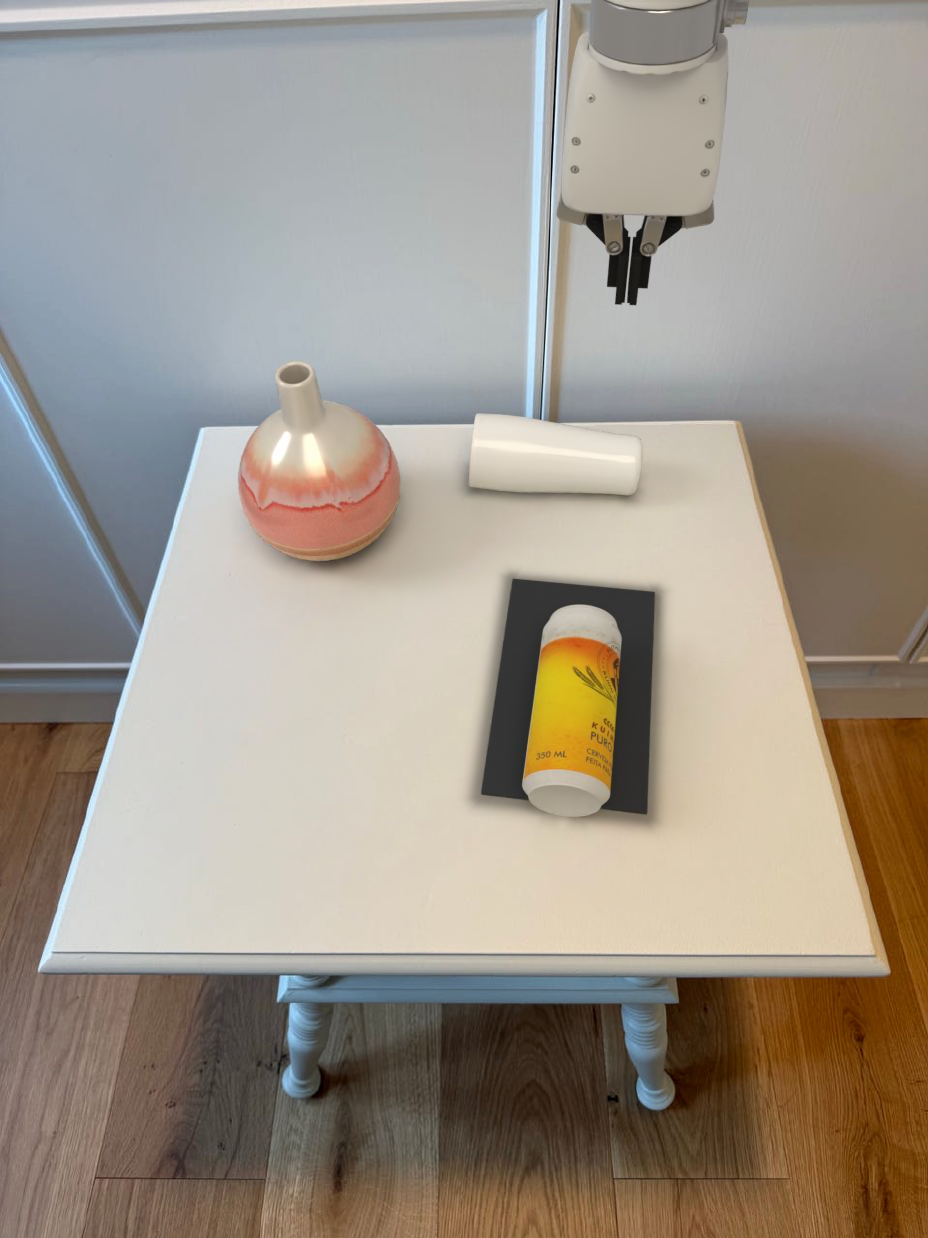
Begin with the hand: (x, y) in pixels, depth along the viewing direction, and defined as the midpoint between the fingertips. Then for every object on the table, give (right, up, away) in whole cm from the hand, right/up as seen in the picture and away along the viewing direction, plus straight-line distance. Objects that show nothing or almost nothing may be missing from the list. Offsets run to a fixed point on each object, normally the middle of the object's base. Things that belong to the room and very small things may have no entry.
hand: (626, 293), depth 69 cm
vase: (-24, -16, +15) cm, 33 cm away
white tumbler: (+4, -11, +14) cm, 18 cm away
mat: (-3, -30, +4) cm, 30 cm away
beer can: (-5, -37, -5) cm, 38 cm away
